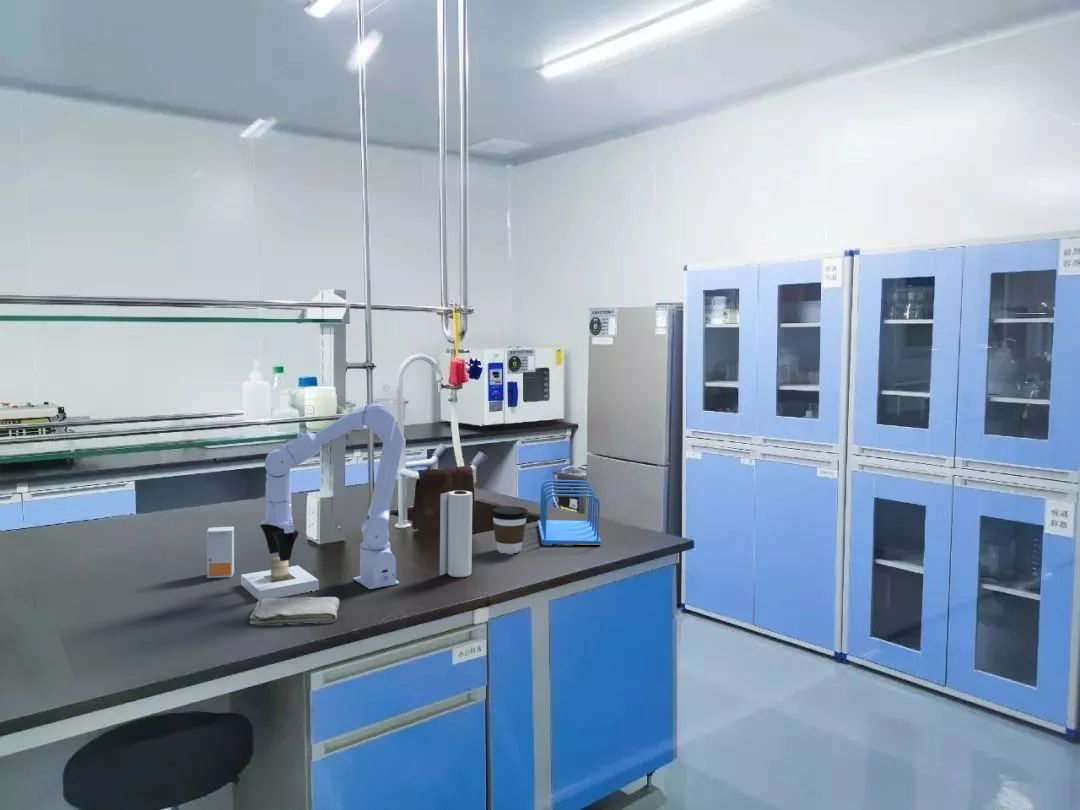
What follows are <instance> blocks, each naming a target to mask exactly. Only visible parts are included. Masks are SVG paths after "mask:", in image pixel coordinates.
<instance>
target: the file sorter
mask: <svg viewBox="0 0 1080 810" xmlns="http://www.w3.org/2000/svg"><path fill="white" fill-rule="evenodd" d="M546 483H547V484H546ZM549 486H550V487H549ZM574 486H575V487H574ZM540 488H541V489H540V506H539V507H540V509H539V512H540V513H539V514H540V515H539V519H538V520H537V527H539V528H538V532H540V533H539V537H541V538H540V542H541V543H540V544H541V545H542V544H543V545H542V546H546V545H545V544H602V541H601V538H600V535H599V532H600V513H601V511H600V509H601V508H600V507H601V506H600V500H599V499H598V497H597V495H596V494H595V492H594V490H593V489H592V488H593V487H592V486H591V485H590V483H589V482H587V481H586V480H574V479H573V480H572V479H571V480H569V479H548V480H544V482H543V483H542V484H541V487H540ZM551 489H553V490H551ZM552 493H553V494H552ZM554 493H556V494H554ZM557 493H558V494H557ZM560 493H561V494H560ZM562 493H563V494H562ZM564 493H565V494H564ZM566 493H567V494H566ZM570 493H572V494H570ZM549 494H550V495H549ZM547 496H548V497H547ZM553 497H574V498H575V497H577V498H580V497H581V498H582V497H585V498H588V509H587V520H561V519H560V520H556V519H555V520H553V519H552V520H551V519H549V520H548V519H547V512H548V511H547V509H548V501H549V500H550V498H553Z"/></svg>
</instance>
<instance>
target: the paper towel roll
mask: <svg viewBox="0 0 1080 810" xmlns="http://www.w3.org/2000/svg"><path fill="white" fill-rule="evenodd" d="M439 500H440V507H439V508H440V510H439V511H440V514H439V515H440V517H439V518H440V522H439V523H440V524H439V527H440V528H439V530H440V531H439V533H440V534H439V576H442V575H445V574H447V575H449V576H451V577H454V578H464V577H468V576H470V575H471V574H472V563H473V562H472V557H473V556H472V555H473V554H472V553H473V551H472V550H473V548H472V547H473V545H472V544H473V542H472V541H473V539H472V538H473V492H472V491H469V490H468V491H467V490H452V491H448V492H447V491H446V492H445V493H440V499H439Z"/></svg>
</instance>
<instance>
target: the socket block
mask: <svg viewBox="0 0 1080 810" xmlns="http://www.w3.org/2000/svg"><path fill="white" fill-rule="evenodd" d="M240 585H241V586H242V587H243V588H244V589H245V590H246V591H247V592H248V593H250V594H251V596H253V597H254V598H255V599H257V602H258V601H262V599H266V598H269V599H270V598H286V597H290V595H291V596H294V595H295V596H296V595H301V593H302V594H307V593H311V592H310V591H312V592H317V591H316V590H318V591H319V590H320V580H319V579H318V578H316V577H315V576H313V574H311V573H309V572H308V571H306V570H305V569H304V568H302V567H301V566H300V565H293V566H289V580H285V581H279V582H274V583H271V569H268V570H263V571H256V572H250V573H245V574H244V573H242V574H240ZM306 592H307V593H306Z"/></svg>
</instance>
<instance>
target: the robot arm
mask: <svg viewBox="0 0 1080 810" xmlns="http://www.w3.org/2000/svg"><path fill="white" fill-rule="evenodd" d="M365 426H366V428H368V429H369V430H370V431H371V432H373V433H374V434H376V435H377V437H378V438H379V439H380V441H381V442H382V449H381V453H380V459H379V463H378V468H377V473H376V476H375V481H374V483H375V484H374V488H373V490H372V491H373V492H372V495H371V496H372V497H371V502H370V505H369V508H368V512H367V515H366V517H365V518H364V520H362V523H361V526H360V530H361V533H362V539H363V540H362V542H361V543H360V544H359V545H360V548H359V552H360V553H359V557H360V558H359V569H360V570H359V576H356V577H353V580H355V581H356V582H357V583H359V584H361V585H363V586H364V587H365V588H367V589H369V590H372V589H378V588H379V589H380V588H383V587H390V586H395V585H399V584H400V581H399V580H397V559H396V557H395V554H394V553H393V552H392V550H391V543H390V541H389V540H390V531H389V521H390V511H391V510H390V509H391V505H392V504H391V503H392V499H393V496H394V495H393V494H394V489H395V485H396V480H397V475H398V470H399V465H400V461H401V456H402V451H403V445H404V436H403V434H402V432H401V429H400V428H399V425H398V422H397V421H396V418H395V416H394V415H393V414H392V413H391V411H389V410H388V408H387V407H386V406H385V405H384V404H383V403H381V402H378V401H373V402H370V403H368V404H366V405H365V406H361V407H358V408H356V409H353V410H351V412H348V413H346V414H345V415H344V416H341V417H340V418H339V419H338V418H337V420H335V421H333V422H331V424H328V425H327V426H326V427H324V428H322V429H320V430H319V431H316V433H313V432H308V431H307V432H306V431H305V433H303V432H299V433H297V435H296V438H294V439H292V440H290V441H289V442H287V443H286V444H283V443H282V444H279V445H278V448H279V449H278V448H276V449H274V450H271V451H270V452H269V453H268V454H267V455H266V457H265V460H264V461H265V462H264V468H265V470H266V473H265V479H266V481H265V510H266V511H265V513H264V517H265V518H264V519H261V520H260V523H261V524H260V529H261V530H262V532H263V534H264V537H265V539H266V543H267V549H268V552H269V554H276V553H278V557H279V558H280V561H286V560H288V561H290V560H291V556H292V551H293V548H294V544H295V542H296V540H297V537H298V536H299V534H300V531H298V530H297V529H295V526H294V523H293V517H292V514H293V513H292V481H291V477H290V474H291V473H290V472H291V470H292V469H291V468H292V467H297V466H299V465H300V464H302V463H304V462H306V461H307V460H310V459H311V458H313V457H314V456H317V455H318V454H320V452H321V449H322V446H323V445H324V444H327V443H328V442H331V441H332V440H334V439H336V438H338V437H340V436H341V435H343V434H345V433H347V432H349V431H351V430H355V431H356V430H357V431H358V430H360V431H362V430H363V431H364V430H365Z"/></svg>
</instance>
